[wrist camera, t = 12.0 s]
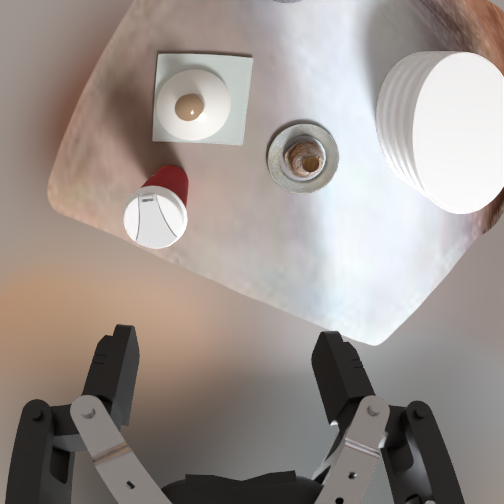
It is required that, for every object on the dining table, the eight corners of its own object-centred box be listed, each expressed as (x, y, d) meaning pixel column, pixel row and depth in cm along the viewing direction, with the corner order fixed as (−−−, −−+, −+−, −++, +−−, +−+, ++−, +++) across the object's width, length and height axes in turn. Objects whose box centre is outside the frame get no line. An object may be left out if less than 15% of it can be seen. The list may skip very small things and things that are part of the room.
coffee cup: (142, 161, 44) (112, 195, 32) (192, 155, 45) (180, 185, 32) (150, 209, 49) (128, 256, 36) (198, 203, 49) (191, 250, 36)
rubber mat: (159, 54, 35) (158, 53, 35) (252, 58, 38) (253, 58, 37) (153, 140, 43) (152, 141, 42) (242, 144, 45) (242, 145, 44)
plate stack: (495, 108, 42) (532, 120, 32) (444, 210, 55) (476, 236, 45) (411, 22, 34) (452, 16, 24) (348, 147, 46) (380, 166, 37)
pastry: (345, 175, 49) (355, 184, 45) (282, 202, 51) (288, 213, 47) (322, 112, 43) (332, 115, 39) (254, 140, 45) (257, 145, 41)
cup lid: (160, 69, 36) (149, 66, 30) (234, 72, 38) (236, 69, 32) (155, 138, 42) (145, 147, 36) (226, 141, 44) (227, 150, 38)
